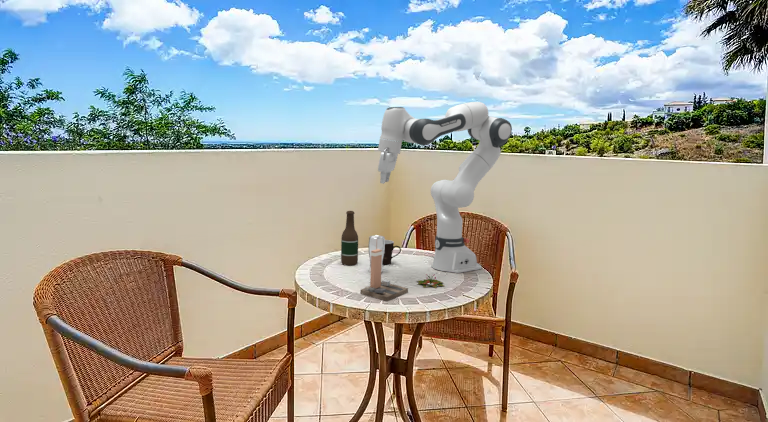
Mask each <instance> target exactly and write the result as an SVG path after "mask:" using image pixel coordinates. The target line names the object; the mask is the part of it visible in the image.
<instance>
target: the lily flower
mask: <svg viewBox="0 0 768 422" xmlns="http://www.w3.org/2000/svg"><path fill="white" fill-rule="evenodd" d="M433 277H434V278H433ZM417 282H418V283H416V285H422V287H423V288H429V287H430V288H431V287H433V288H434V289H437V287H445V285H444V282H443V281H440V280H438V279H437V276H435V274H434V273H433V272H432V273H431V275H427V276H426V278H425V279H423V280H417ZM429 284H430V285H429Z"/></svg>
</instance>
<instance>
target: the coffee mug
mask: <svg viewBox="0 0 768 422" xmlns="http://www.w3.org/2000/svg"><path fill="white" fill-rule="evenodd" d="M394 244H395V242H394V240H390V239H385V251H384V256H383V262H382V266H388V265H391V264H392V259H393V258H395V257H397V256H399V254H401V252H402V249H401V247H400V246H399V245H394ZM395 248H398V249H399V252H398V253H397V254H395V255H393V251H394V250H395Z"/></svg>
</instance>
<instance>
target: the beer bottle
mask: <svg viewBox="0 0 768 422" xmlns="http://www.w3.org/2000/svg"><path fill="white" fill-rule="evenodd" d="M345 214H346V219H345V220H346V221H345V228H344V230H343V231H342V233H341V238H340V239H341V242H340V246H341V247H340V248H341V249H340V251H341V252H340V257H341V258H340V261H341V264H342V265H343V266H347V267H348V266H350V267H351V266H356V265H358V263H359V235H358V232H357V231H356V228H355V212H354V211H353V210H346V213H345Z"/></svg>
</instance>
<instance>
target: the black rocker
mask: <svg viewBox="0 0 768 422" xmlns="http://www.w3.org/2000/svg"><path fill="white" fill-rule="evenodd" d="M386 291H387V290H386V289H379V288H378V289H376V290H374V292H375V293H384V292H386Z"/></svg>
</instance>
